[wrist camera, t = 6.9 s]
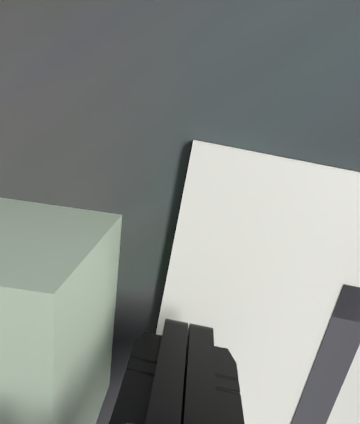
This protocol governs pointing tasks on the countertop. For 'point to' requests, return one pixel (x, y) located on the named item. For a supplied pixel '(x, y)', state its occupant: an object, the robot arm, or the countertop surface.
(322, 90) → the countertop surface
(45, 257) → the sage block
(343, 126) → the countertop surface
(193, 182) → the letter
